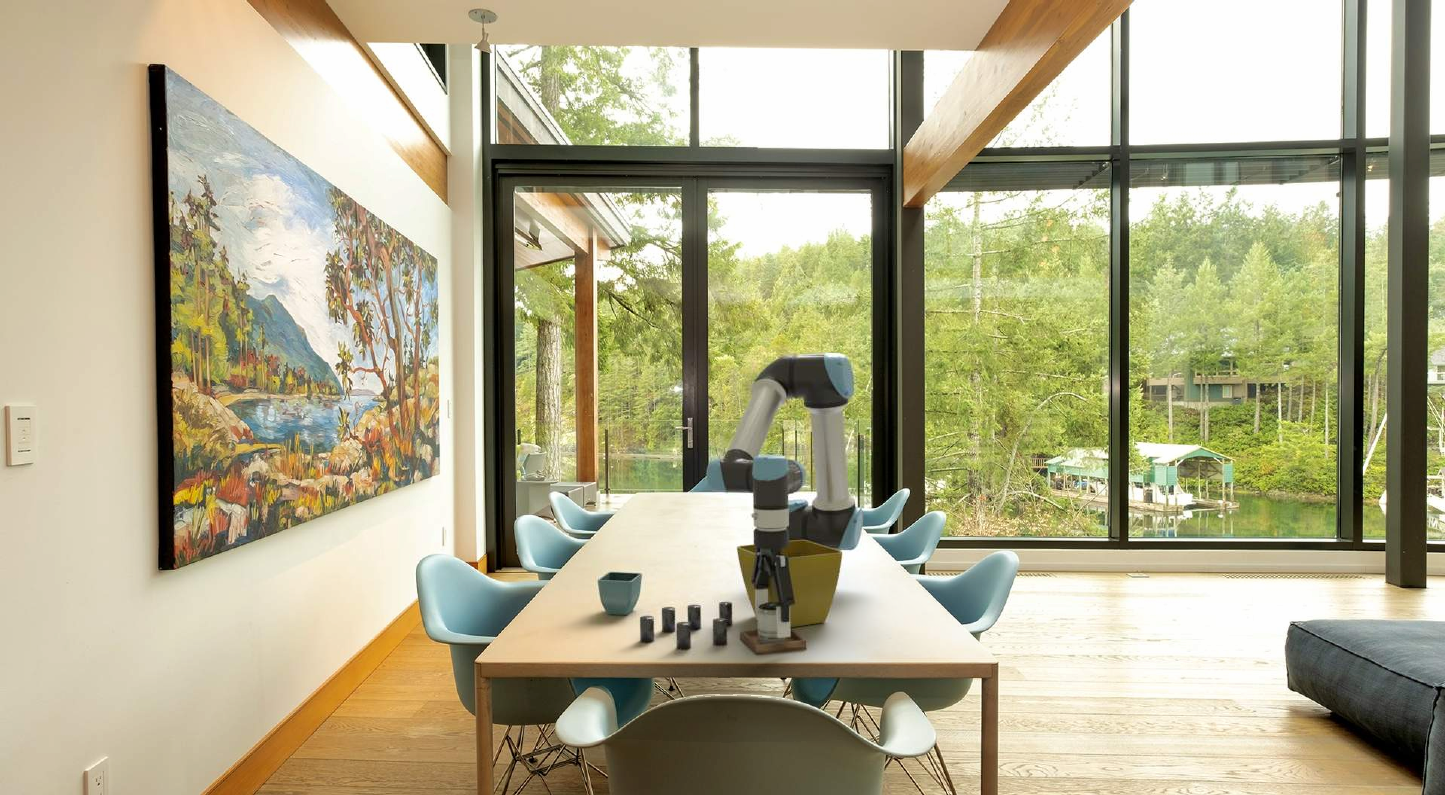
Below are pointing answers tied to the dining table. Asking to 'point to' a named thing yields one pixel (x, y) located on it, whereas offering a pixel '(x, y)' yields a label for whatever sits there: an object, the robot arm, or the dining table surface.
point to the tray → (758, 648)
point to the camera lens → (768, 624)
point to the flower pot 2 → (800, 579)
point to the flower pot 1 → (619, 591)
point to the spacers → (688, 625)
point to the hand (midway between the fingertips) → (772, 627)
